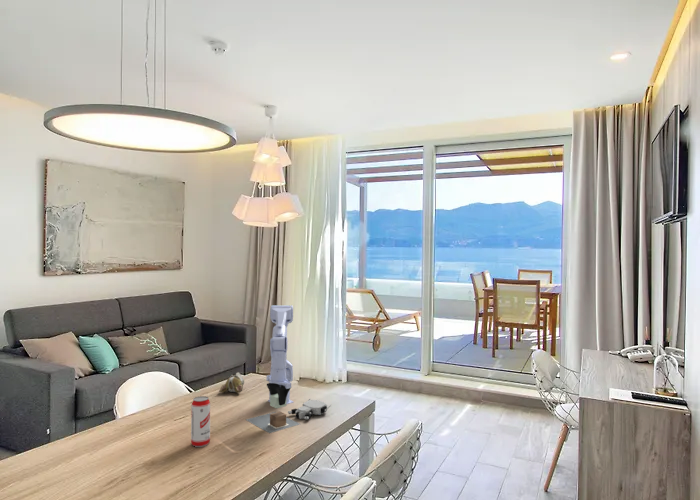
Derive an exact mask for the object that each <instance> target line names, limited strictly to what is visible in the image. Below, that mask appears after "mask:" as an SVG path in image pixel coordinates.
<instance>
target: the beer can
mask: <svg viewBox="0 0 700 500" xmlns="http://www.w3.org/2000/svg"><path fill="white" fill-rule="evenodd" d="M209 399H210V398H209V397H208V396H205V395H202V396H195V397H193V398H192V402H191V410H190V411H191V412H190V413H191V416H190V417H191V418H190V419H191V420H190V421H191V423H190V424H191V425H190V426H191V429H190V431H191V432H190V442H191V443H190V444H191V445H192V446H193V447H194V446H195V448H204V447H206V446H207V445H209V443H210V440H211V401H210V400H209ZM203 446H204V447H203Z"/></svg>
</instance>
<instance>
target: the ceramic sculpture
mask: <svg viewBox="0 0 700 500" xmlns="http://www.w3.org/2000/svg"><path fill="white" fill-rule="evenodd" d="M244 384H245V379H244V377H243V376H242V374H241V373H240V372H239V371H237V372H236V373H231V375H230V377H228V379H227V380H226V382H225V384H222V385H221V386H220V387H219V391H218V392H219V393H226V392H229V393H237V394H238V393H241V392H242V391H243V389H244Z"/></svg>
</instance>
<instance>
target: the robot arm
mask: <svg viewBox="0 0 700 500" xmlns="http://www.w3.org/2000/svg"><path fill="white" fill-rule="evenodd" d="M269 309H270V310H269V311H270V312H269V314H270V315H269V318H270V321H271V322H272V323H273V324H275V325H274V326H273V328H272V333H271V334H272V336H271V339H270V340H269V341H270V342H269V343H270V344H269V349H270V356H271V358H270V359H271V361H270V363H271V365H270V372H269V375H266V381H267V382H268V383H266V387H267V389H268V395H269V397H268V398H269V399H267V402H269V403H270V395H273V394H277V393H278V398H279V405H284V404H285V401H286V405H289V404H292V403H294V401H293V400H292V399H290V398H291V397H290V395H291V393H290V392H291V388H292V382H293V381H294V380H293V379H294V368H293V364H292V362H290V361H289V360H288V359H287V355H288V353H287V351H288V345H289V344H288V342H289V339H288V326H289V324H291V323H293V321H294V305H293V304H291V305H284V304H282V305H277V304H276V305H275V304H274V305H273V304H271V306H270V308H269Z"/></svg>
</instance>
